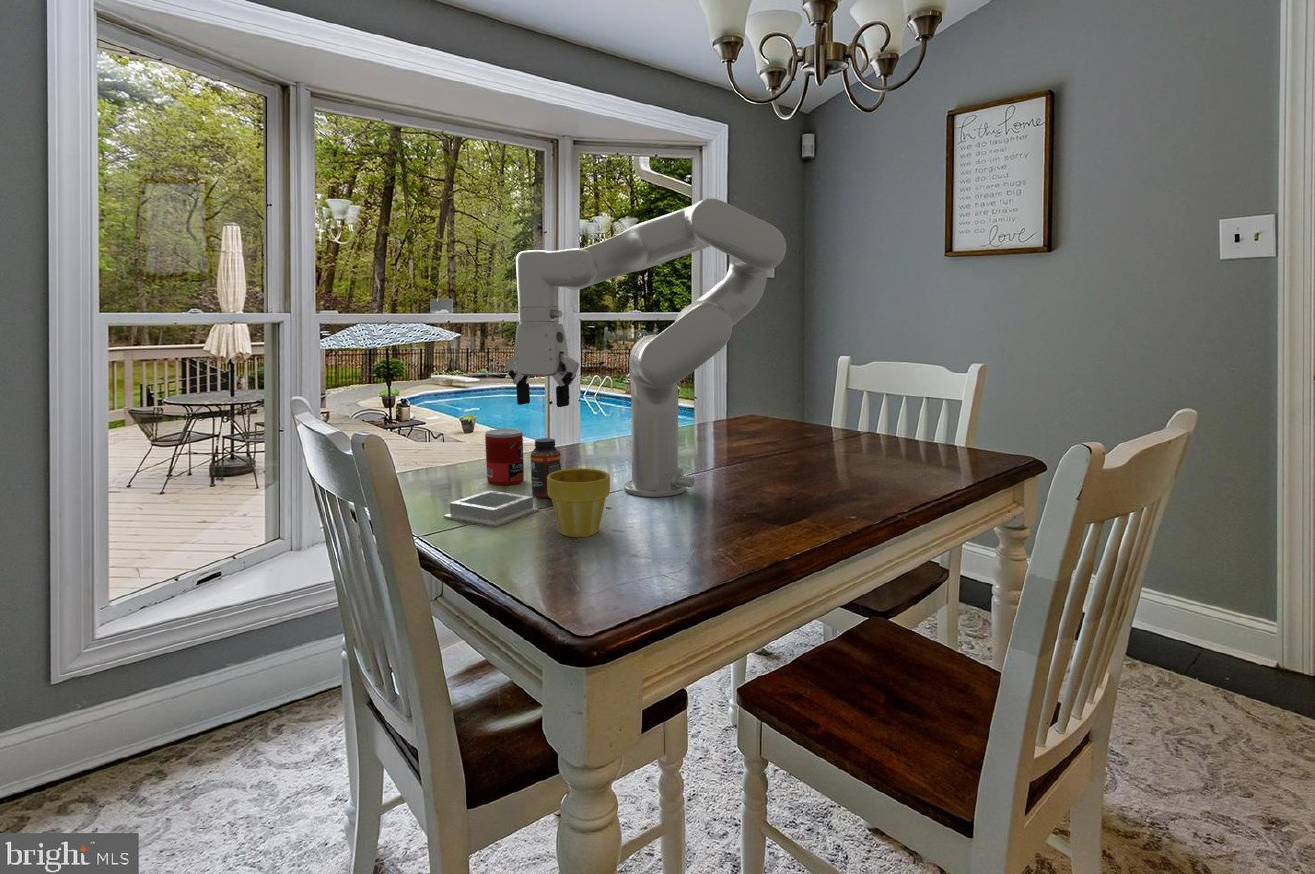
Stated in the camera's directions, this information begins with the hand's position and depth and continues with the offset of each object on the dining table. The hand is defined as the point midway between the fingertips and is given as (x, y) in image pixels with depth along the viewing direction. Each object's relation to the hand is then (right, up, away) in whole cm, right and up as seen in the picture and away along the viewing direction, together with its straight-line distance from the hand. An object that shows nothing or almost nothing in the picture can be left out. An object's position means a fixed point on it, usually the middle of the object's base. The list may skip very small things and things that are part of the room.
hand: (543, 405), depth 144 cm
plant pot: (+9, -22, -21) cm, 32 cm away
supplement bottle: (0, -18, +3) cm, 18 cm away
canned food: (-10, -16, +15) cm, 24 cm away
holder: (-8, -20, -11) cm, 24 cm away
